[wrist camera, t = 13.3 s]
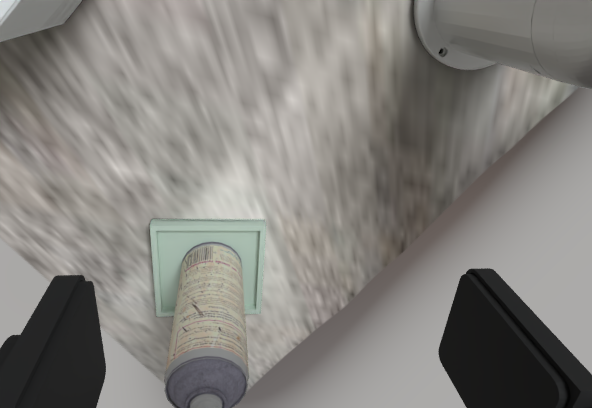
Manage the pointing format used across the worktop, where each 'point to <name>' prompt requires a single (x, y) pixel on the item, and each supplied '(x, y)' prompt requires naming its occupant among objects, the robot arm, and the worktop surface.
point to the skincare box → (32, 16)
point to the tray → (190, 232)
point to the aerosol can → (208, 331)
